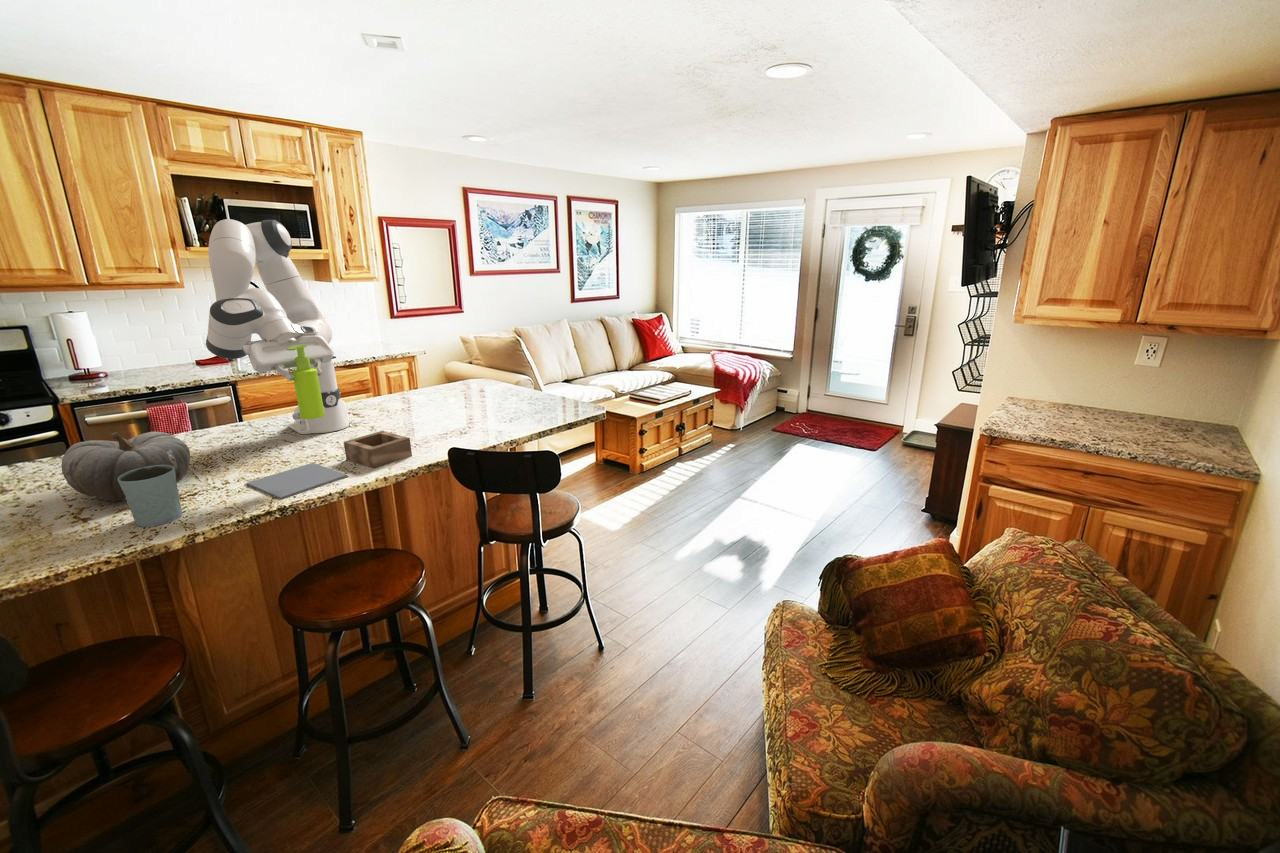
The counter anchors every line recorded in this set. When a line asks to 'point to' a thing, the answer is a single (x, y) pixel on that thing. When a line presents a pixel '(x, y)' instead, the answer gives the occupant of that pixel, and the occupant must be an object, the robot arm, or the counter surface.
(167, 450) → the gourd
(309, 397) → the soap dispenser
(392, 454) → the box
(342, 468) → the counter surface
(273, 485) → the slate mat
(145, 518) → the blue gray cup
